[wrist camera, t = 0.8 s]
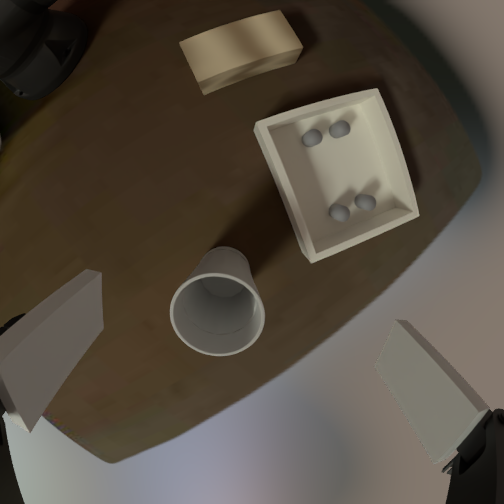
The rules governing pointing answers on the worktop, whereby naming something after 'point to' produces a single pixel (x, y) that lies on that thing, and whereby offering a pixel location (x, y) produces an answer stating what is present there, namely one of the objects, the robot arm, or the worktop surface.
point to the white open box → (338, 171)
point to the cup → (218, 305)
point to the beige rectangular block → (241, 50)
